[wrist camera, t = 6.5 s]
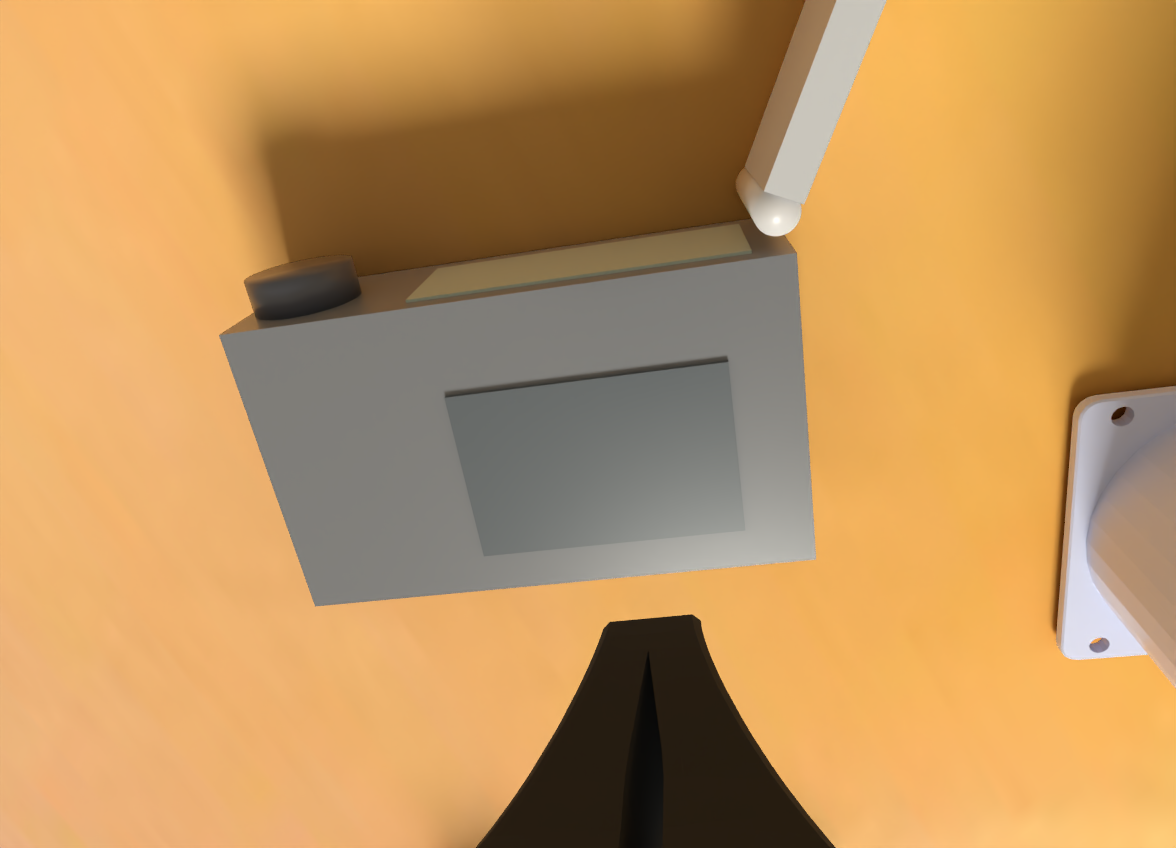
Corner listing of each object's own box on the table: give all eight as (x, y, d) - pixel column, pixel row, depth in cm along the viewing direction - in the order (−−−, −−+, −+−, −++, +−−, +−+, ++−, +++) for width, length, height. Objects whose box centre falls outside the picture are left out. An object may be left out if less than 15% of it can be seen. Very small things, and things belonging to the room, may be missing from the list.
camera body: (767, 180, 19) (794, 212, 16) (790, 476, 22) (816, 561, 19) (284, 255, 21) (203, 300, 17) (367, 522, 24) (313, 608, 20)
